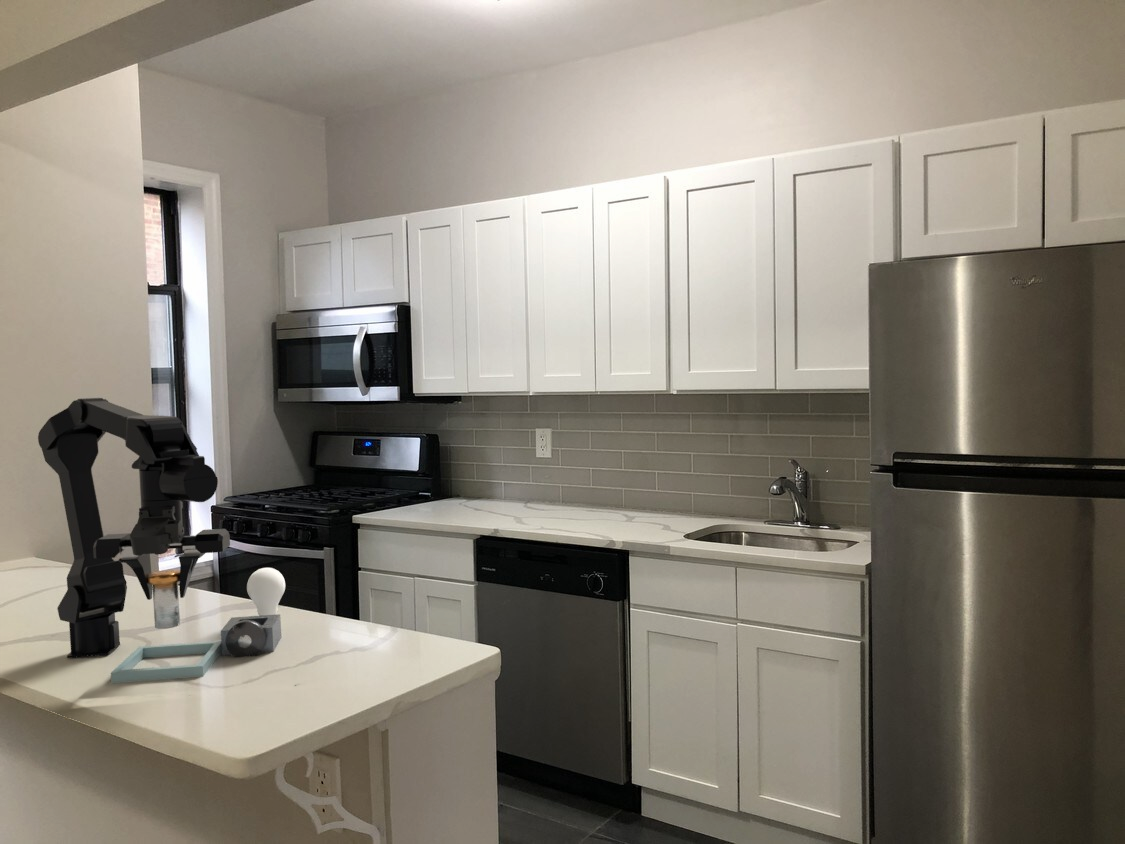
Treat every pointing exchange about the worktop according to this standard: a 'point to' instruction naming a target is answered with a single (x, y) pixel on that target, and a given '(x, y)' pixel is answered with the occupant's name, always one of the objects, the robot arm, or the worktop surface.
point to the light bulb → (266, 590)
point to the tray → (129, 674)
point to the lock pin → (165, 598)
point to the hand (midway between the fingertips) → (166, 598)
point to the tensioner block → (251, 635)
